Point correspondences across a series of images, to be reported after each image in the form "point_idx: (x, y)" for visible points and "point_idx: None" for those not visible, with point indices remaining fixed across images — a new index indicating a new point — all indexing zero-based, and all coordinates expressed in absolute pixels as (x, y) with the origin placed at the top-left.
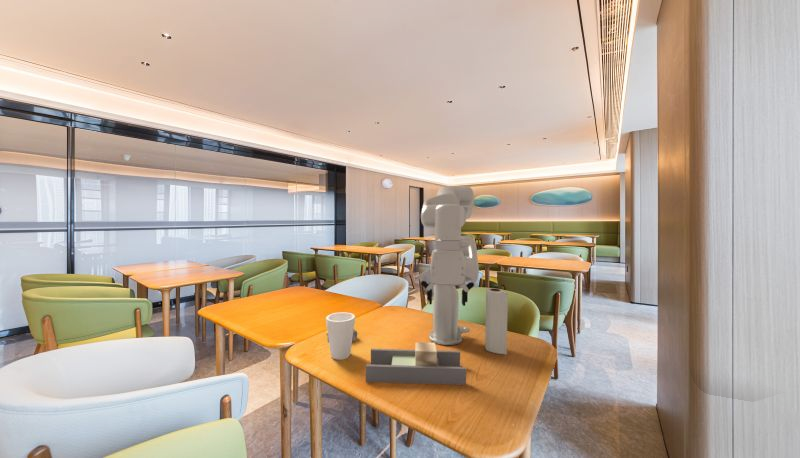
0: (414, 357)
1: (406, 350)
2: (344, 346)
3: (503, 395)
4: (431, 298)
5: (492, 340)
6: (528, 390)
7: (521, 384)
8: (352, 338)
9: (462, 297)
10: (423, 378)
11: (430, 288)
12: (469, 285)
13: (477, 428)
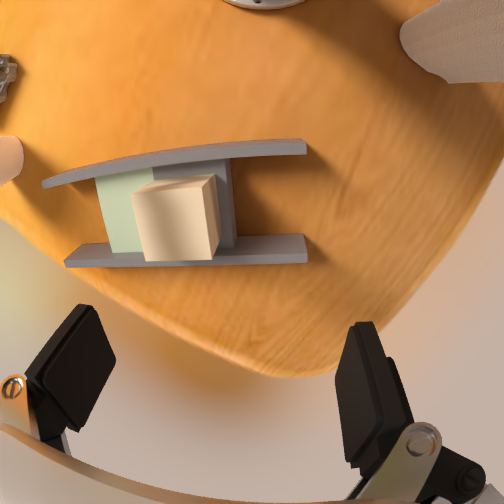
0: (151, 174)
1: (119, 168)
2: (2, 182)
3: (375, 273)
4: (99, 388)
5: (435, 57)
6: (431, 251)
7: (430, 230)
8: (8, 81)
9: (348, 408)
10: None
11: (63, 442)
12: (417, 500)
13: (295, 351)
